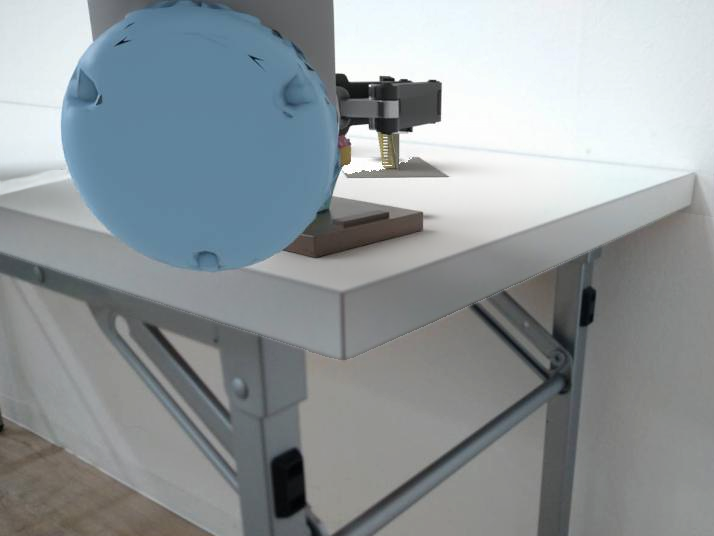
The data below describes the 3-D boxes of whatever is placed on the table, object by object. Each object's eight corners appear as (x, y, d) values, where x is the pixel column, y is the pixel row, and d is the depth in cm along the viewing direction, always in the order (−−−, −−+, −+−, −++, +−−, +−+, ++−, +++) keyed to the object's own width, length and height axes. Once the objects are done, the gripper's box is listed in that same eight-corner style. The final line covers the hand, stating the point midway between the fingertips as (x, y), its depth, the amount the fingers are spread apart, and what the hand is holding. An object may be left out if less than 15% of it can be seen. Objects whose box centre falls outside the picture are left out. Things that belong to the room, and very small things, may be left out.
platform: (347, 177, 84) (345, 117, 82) (332, 157, 101) (331, 107, 98) (448, 176, 87) (450, 118, 85) (418, 157, 103) (419, 108, 101)
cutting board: (174, 223, 59) (172, 200, 59) (288, 204, 68) (287, 183, 68) (315, 258, 51) (314, 230, 50) (423, 230, 60) (423, 206, 59)
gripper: (-15, 194, 34) (118, 143, 54) (517, 196, 37) (458, 148, 57) (-50, 16, 31) (104, 32, 51) (526, 35, 34) (461, 43, 54)
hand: (291, 93), depth 54 cm, fingers open, 13 cm apart
